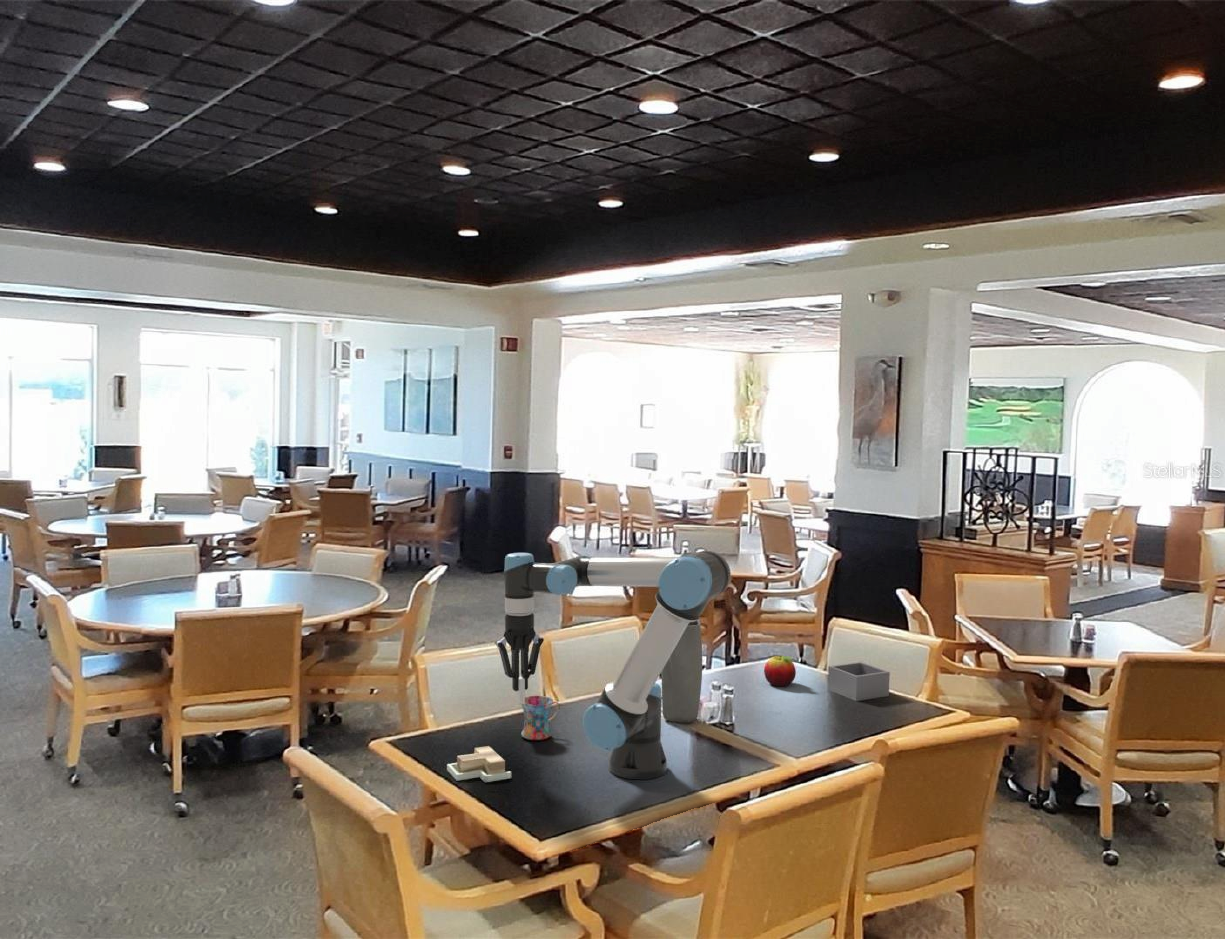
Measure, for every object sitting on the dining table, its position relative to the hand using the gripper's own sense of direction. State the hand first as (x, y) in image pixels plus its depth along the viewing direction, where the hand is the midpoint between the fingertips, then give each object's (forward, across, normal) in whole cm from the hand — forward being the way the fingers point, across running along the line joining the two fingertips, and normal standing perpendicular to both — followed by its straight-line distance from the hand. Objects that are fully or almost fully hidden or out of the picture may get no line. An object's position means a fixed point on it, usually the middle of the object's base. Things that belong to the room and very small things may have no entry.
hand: (520, 702), depth 257 cm
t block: (+17, +11, -1) cm, 20 cm away
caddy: (+18, -126, -15) cm, 129 cm away
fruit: (+18, -108, -34) cm, 115 cm away
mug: (+17, -14, -19) cm, 29 cm away
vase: (+17, -58, -15) cm, 62 cm away
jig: (+16, +12, -1) cm, 20 cm away
